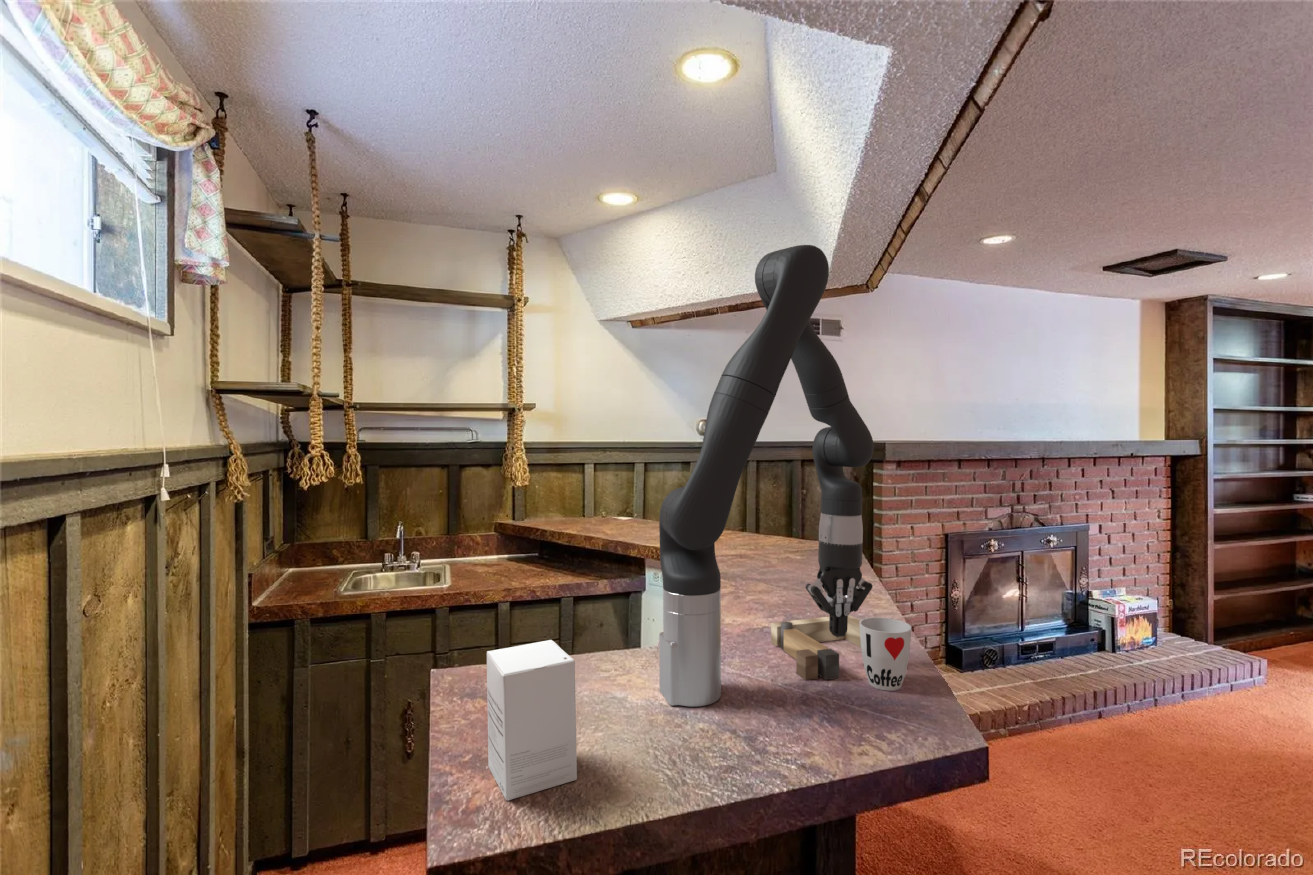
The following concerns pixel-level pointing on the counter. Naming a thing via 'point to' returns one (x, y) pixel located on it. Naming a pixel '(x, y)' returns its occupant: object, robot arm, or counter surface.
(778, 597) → the counter surface
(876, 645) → the cup
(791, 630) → the leg
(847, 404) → the robot arm
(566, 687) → the supplement box
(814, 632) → the jointed wooden sticks
